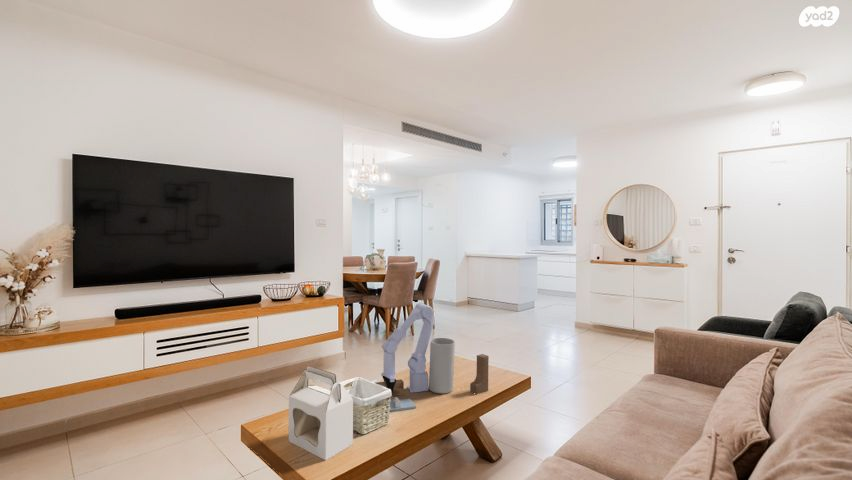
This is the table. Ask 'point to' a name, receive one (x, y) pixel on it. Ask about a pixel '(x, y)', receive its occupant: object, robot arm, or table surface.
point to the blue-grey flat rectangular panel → (402, 405)
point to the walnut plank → (395, 387)
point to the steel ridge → (396, 402)
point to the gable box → (320, 415)
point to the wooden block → (480, 375)
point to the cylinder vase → (441, 365)
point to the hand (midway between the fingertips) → (389, 391)
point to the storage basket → (368, 404)
